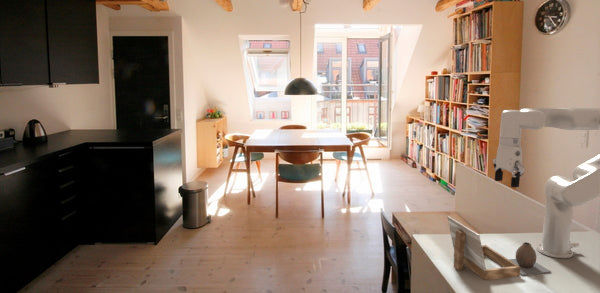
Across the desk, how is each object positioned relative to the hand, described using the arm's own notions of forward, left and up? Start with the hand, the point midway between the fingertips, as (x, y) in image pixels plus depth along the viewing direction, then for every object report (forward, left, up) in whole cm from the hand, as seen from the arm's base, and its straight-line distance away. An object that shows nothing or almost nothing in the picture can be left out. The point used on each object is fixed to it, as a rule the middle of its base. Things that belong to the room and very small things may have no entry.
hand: (506, 183), depth 168 cm
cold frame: (+18, +11, -28) cm, 35 cm away
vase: (+1, +15, -28) cm, 32 cm away
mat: (+1, +15, -28) cm, 32 cm away
